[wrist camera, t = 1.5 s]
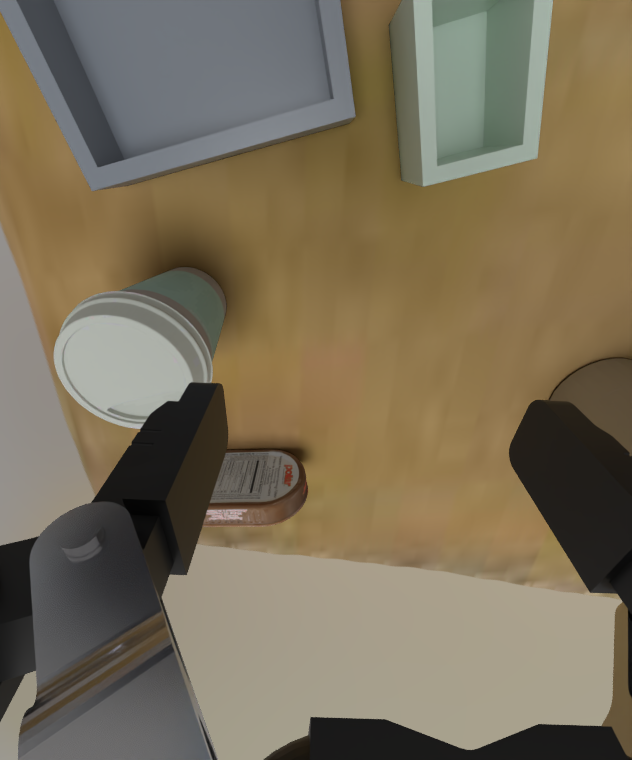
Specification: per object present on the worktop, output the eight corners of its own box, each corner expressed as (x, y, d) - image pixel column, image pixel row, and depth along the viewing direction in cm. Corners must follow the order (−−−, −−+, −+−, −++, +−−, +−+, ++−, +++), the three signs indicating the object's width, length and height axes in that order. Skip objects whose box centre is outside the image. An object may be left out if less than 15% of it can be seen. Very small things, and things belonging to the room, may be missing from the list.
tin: (179, 466, 40) (149, 533, 33) (172, 446, 38) (138, 512, 31) (309, 463, 40) (306, 529, 33) (307, 442, 38) (304, 508, 31)
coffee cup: (139, 332, 31) (51, 418, 21) (141, 234, 26) (30, 282, 16) (234, 357, 32) (195, 449, 22) (251, 267, 28) (212, 330, 17)
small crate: (496, -9, 19) (559, -68, 14) (490, 157, 23) (537, 158, 18) (388, 25, 20) (412, -20, 15) (401, 180, 24) (423, 186, 19)
